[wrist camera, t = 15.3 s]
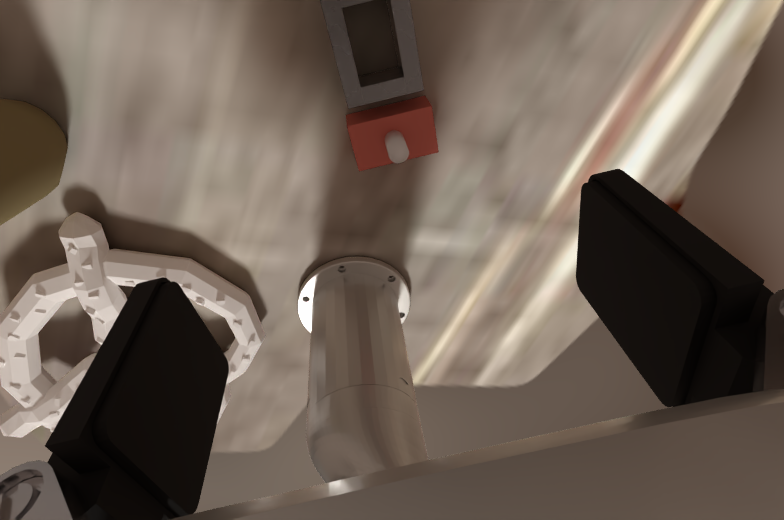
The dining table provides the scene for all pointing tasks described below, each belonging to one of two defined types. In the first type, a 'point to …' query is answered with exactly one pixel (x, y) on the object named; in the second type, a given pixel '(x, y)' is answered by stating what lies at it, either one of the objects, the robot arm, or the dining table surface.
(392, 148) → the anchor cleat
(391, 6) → the link
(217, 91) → the dining table surface
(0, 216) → the squeeze bottle
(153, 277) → the pretzel
